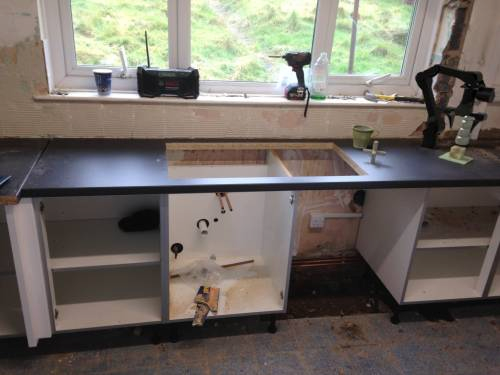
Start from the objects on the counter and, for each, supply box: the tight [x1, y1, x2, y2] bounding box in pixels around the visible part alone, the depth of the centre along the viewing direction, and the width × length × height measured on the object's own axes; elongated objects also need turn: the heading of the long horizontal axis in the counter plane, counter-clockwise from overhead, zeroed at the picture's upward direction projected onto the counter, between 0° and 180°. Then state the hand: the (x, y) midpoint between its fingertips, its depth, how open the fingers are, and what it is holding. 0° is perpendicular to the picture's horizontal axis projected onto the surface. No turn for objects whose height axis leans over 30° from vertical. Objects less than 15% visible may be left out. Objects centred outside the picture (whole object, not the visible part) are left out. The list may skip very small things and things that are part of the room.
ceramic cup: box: [352, 124, 380, 150], centre depth 212 cm, size 13×10×10 cm
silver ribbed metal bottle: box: [454, 107, 475, 146], centre depth 223 cm, size 6×7×20 cm
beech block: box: [449, 145, 466, 160], centre depth 204 cm, size 5×5×5 cm
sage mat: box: [438, 151, 474, 166], centre depth 205 cm, size 12×12×1 cm
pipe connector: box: [362, 140, 387, 164], centre depth 192 cm, size 10×10×10 cm
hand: (460, 131), depth 206 cm, fingers open, 9 cm apart
